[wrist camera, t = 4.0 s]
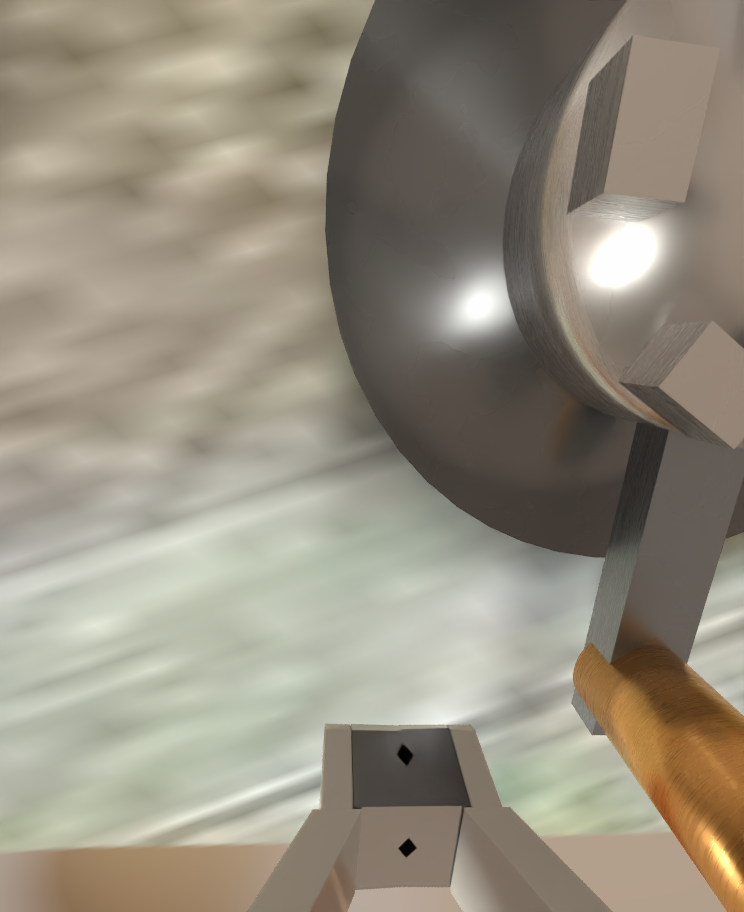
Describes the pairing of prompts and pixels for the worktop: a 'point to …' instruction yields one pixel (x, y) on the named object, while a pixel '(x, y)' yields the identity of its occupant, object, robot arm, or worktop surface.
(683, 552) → the crank handle dial
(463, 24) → the flange
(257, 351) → the worktop surface
